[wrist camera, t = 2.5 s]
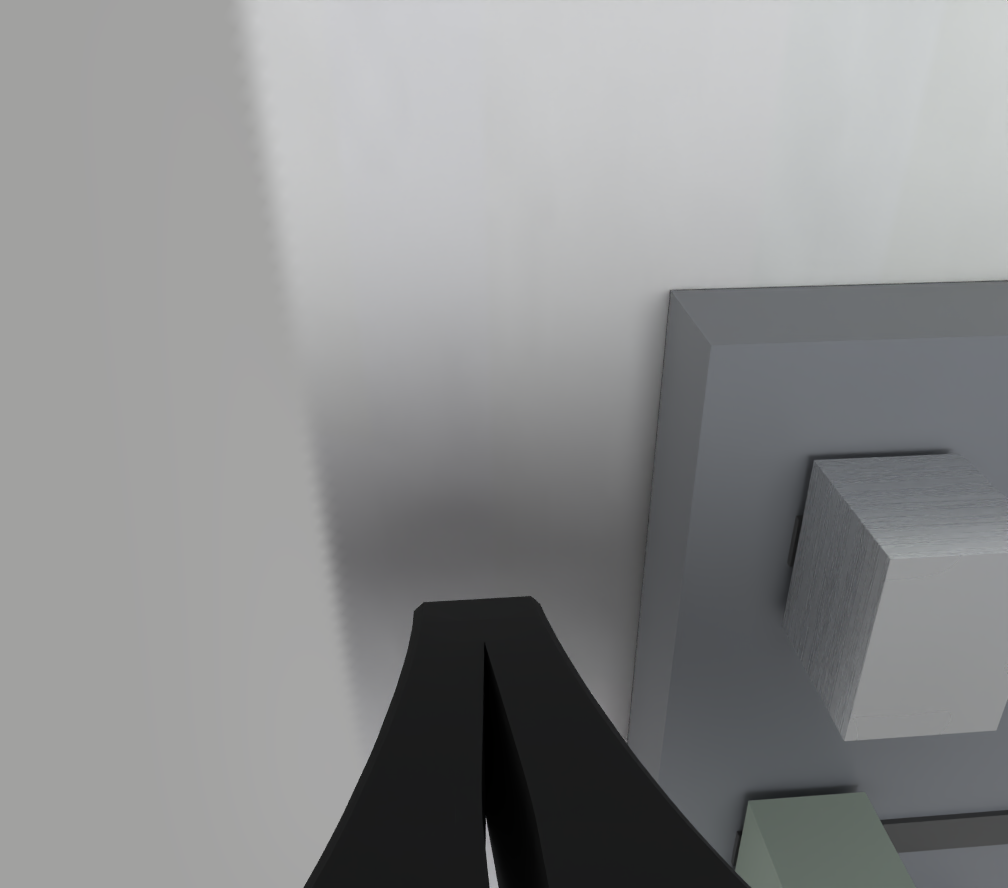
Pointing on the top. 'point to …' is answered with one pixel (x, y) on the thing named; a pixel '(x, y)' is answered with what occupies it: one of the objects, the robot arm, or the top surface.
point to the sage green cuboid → (818, 845)
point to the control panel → (773, 544)
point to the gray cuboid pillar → (903, 596)
